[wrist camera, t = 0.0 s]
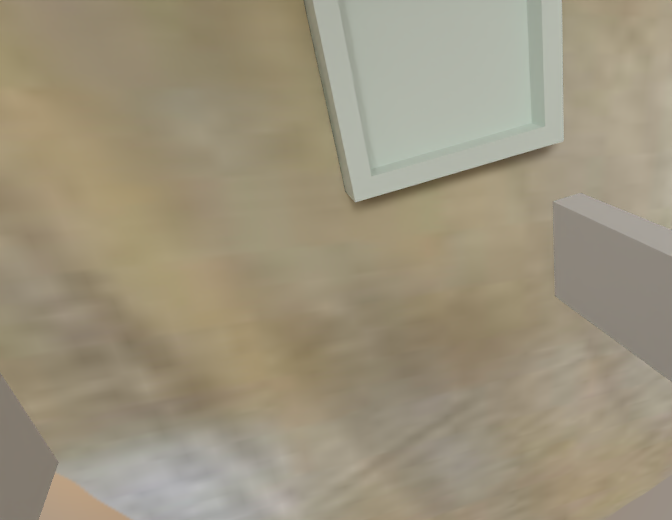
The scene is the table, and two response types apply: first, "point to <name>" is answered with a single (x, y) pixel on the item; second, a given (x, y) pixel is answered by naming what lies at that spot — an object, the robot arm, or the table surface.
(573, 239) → the robot arm
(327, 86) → the tray
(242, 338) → the table surface
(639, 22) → the table surface
